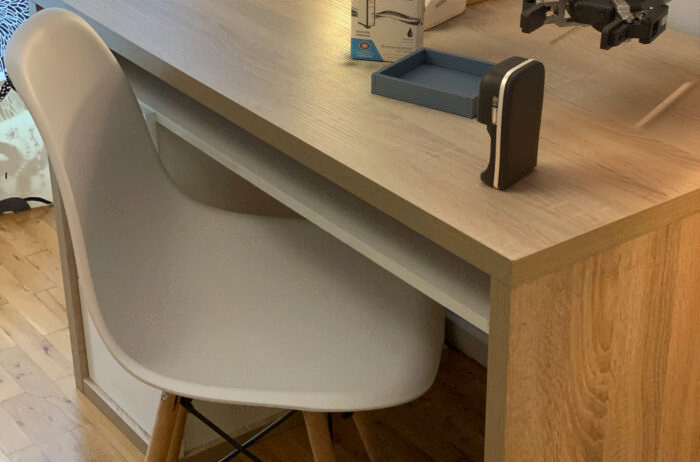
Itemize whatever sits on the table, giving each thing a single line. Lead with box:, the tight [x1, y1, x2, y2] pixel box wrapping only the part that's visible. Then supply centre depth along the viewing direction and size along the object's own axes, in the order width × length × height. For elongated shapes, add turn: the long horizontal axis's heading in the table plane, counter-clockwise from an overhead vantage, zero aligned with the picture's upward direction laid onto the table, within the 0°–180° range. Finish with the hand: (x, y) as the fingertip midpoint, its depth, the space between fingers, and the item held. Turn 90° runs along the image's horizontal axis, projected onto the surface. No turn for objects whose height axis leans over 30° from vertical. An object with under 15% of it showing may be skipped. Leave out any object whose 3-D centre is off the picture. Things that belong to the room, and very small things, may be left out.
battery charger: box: [476, 55, 546, 190], centre depth 101 cm, size 7×4×11 cm, turn 142°
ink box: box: [350, 0, 425, 63], centre depth 130 cm, size 9×5×12 cm, turn 76°
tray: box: [370, 46, 499, 119], centre depth 122 cm, size 13×11×2 cm
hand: (563, 31), depth 106 cm, fingers open, 8 cm apart
